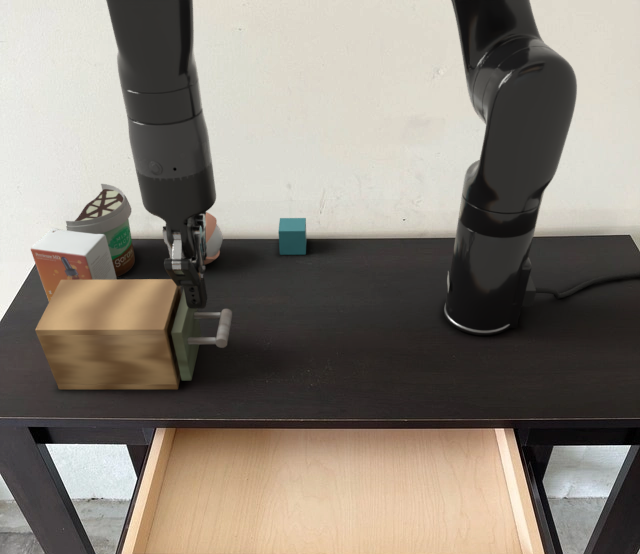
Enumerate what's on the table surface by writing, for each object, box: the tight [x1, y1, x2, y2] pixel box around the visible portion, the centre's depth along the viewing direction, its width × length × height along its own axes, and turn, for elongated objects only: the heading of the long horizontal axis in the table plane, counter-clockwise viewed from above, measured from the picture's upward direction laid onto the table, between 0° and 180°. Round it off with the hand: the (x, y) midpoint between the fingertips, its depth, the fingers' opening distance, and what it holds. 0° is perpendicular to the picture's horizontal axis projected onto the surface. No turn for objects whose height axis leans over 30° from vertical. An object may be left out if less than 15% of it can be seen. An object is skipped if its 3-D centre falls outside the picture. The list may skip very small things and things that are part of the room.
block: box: [278, 217, 307, 256], centre depth 101 cm, size 4×4×4 cm
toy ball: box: [204, 211, 224, 266], centre depth 97 cm, size 8×8×8 cm
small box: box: [30, 227, 118, 303], centre depth 88 cm, size 8×6×10 cm
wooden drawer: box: [167, 287, 233, 382], centre depth 80 cm, size 18×9×7 cm, turn 89°
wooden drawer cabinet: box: [35, 278, 183, 390], centre depth 80 cm, size 15×10×9 cm
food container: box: [65, 183, 136, 278], centre depth 96 cm, size 12×6×10 cm, turn 168°
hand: (197, 304), depth 77 cm, fingers closed
